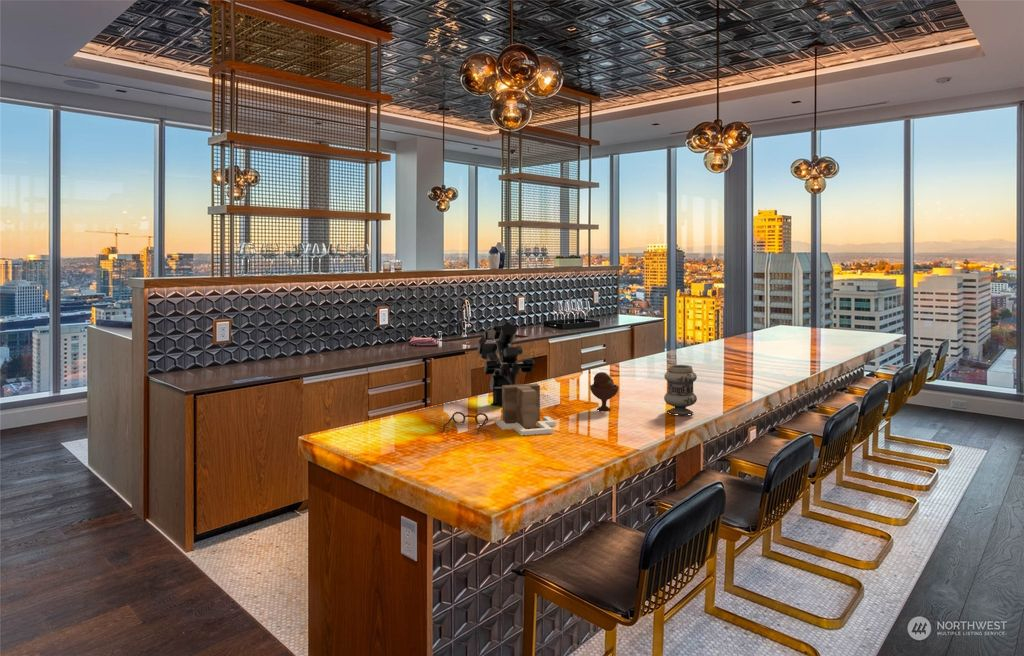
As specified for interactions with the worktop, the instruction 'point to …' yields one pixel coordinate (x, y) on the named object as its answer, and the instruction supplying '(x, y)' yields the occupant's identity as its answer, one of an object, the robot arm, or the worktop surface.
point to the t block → (521, 404)
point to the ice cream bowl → (603, 389)
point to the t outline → (522, 431)
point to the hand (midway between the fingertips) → (513, 384)
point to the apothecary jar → (680, 389)
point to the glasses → (464, 420)
